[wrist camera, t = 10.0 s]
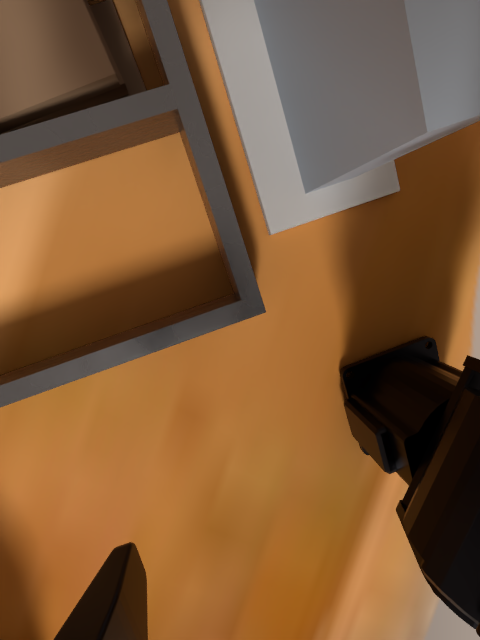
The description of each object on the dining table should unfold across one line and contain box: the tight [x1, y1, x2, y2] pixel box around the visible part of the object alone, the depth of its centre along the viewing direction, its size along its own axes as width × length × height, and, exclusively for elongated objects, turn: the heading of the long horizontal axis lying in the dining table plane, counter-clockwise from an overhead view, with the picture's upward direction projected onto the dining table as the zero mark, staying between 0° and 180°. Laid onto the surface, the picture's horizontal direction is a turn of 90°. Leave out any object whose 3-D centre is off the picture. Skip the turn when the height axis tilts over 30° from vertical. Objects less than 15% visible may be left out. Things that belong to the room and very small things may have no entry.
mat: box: [199, 0, 400, 235], centre depth 18 cm, size 8×15×1 cm, turn 18°
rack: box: [0, 0, 266, 407], centre depth 16 cm, size 18×18×3 cm
